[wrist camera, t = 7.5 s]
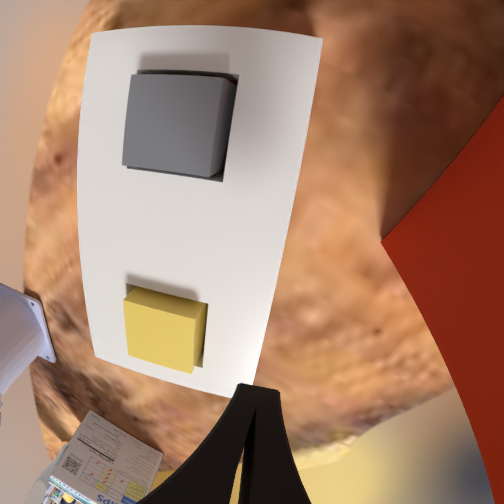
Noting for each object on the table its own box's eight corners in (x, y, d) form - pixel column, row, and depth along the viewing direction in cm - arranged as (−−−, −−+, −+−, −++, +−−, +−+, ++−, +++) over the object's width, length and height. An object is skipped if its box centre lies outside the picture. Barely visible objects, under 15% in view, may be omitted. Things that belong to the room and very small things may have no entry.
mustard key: (146, 329, 21) (128, 355, 19) (144, 276, 20) (123, 300, 17) (204, 344, 21) (192, 374, 18) (209, 291, 19) (195, 319, 16)
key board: (112, 334, 24) (95, 356, 21) (119, 41, 15) (92, 32, 12) (254, 372, 23) (248, 401, 20) (318, 52, 14) (323, 38, 11)
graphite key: (148, 157, 16) (121, 165, 14) (157, 80, 15) (131, 74, 12) (224, 167, 16) (208, 177, 13) (237, 85, 14) (223, 77, 12)
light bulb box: (81, 424, 32) (45, 482, 23) (89, 406, 30) (48, 473, 20) (148, 465, 34) (123, 526, 24) (166, 453, 31) (138, 525, 21)
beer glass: (59, 443, 38) (22, 504, 24) (64, 433, 35) (22, 502, 22) (92, 466, 39) (60, 528, 25) (101, 459, 36) (65, 530, 23)
